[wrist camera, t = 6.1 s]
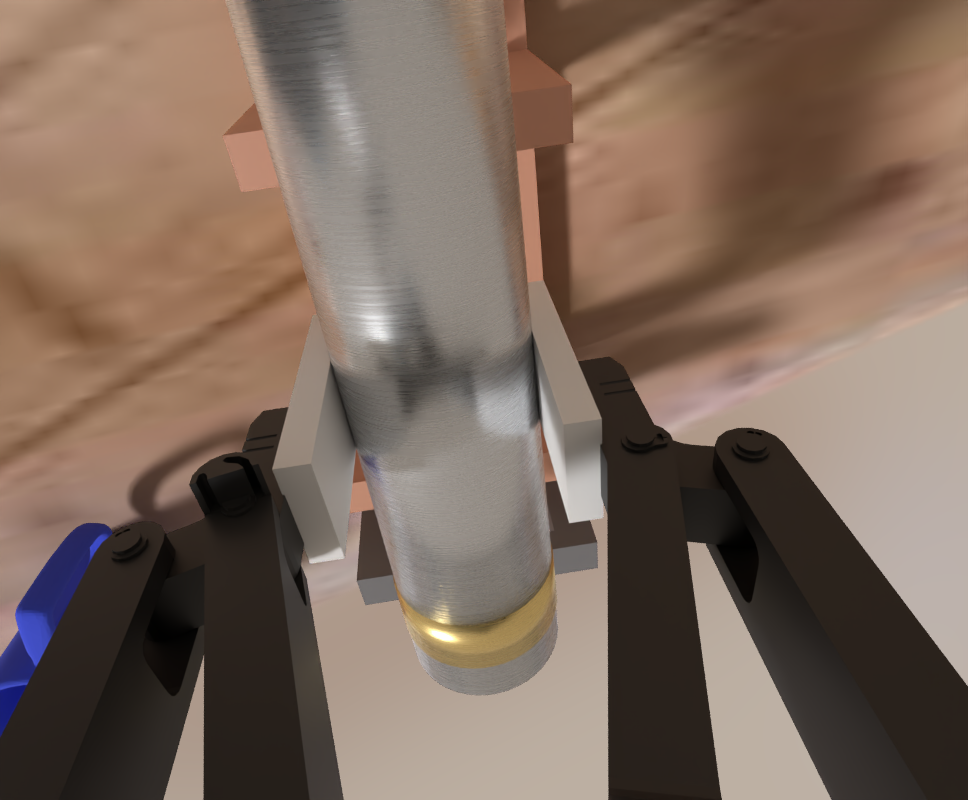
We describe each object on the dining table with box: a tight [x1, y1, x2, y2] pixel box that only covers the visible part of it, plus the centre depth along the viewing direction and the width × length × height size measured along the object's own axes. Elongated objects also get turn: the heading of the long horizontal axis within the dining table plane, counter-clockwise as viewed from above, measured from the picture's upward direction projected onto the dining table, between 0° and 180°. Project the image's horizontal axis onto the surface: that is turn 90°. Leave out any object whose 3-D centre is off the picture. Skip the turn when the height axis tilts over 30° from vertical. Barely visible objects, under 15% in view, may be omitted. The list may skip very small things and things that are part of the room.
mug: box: [0, 523, 113, 737], centre depth 36 cm, size 8×12×10 cm
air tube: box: [225, 0, 558, 695], centre depth 17 cm, size 20×5×5 cm, turn 7°
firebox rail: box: [223, 0, 598, 605], centre depth 26 cm, size 25×10×12 cm, turn 7°
